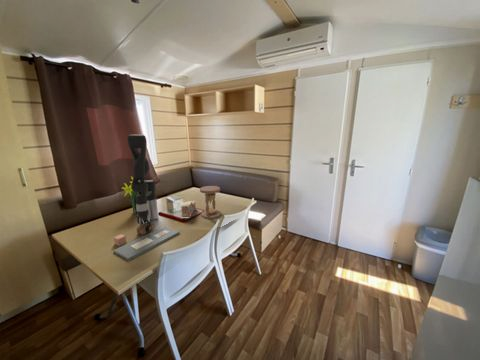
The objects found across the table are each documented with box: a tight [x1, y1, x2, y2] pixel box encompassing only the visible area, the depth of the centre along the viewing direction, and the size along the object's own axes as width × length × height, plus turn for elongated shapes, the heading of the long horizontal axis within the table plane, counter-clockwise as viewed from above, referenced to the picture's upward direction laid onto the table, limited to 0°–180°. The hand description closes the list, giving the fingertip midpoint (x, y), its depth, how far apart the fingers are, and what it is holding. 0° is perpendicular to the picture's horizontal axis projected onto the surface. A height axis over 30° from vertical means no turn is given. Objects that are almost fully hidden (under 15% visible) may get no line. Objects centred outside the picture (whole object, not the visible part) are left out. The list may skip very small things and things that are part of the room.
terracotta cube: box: [113, 233, 127, 247], centre depth 134 cm, size 5×5×5 cm
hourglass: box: [199, 185, 222, 220], centre depth 177 cm, size 18×18×25 cm
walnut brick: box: [136, 221, 153, 236], centre depth 149 cm, size 5×10×5 cm, turn 164°
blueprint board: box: [113, 226, 181, 262], centre depth 136 cm, size 16×38×2 cm, turn 148°
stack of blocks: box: [180, 200, 197, 218], centre depth 180 cm, size 21×6×12 cm, turn 177°
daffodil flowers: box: [121, 175, 140, 216], centre depth 180 cm, size 17×15×35 cm
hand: (144, 230), depth 149 cm, fingers closed on walnut brick, 6 cm apart
